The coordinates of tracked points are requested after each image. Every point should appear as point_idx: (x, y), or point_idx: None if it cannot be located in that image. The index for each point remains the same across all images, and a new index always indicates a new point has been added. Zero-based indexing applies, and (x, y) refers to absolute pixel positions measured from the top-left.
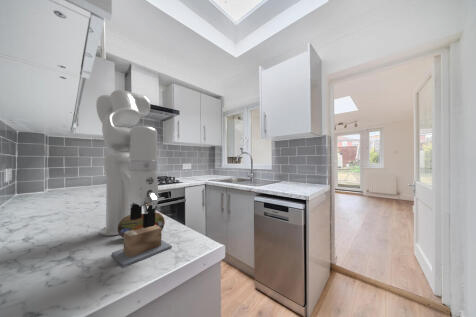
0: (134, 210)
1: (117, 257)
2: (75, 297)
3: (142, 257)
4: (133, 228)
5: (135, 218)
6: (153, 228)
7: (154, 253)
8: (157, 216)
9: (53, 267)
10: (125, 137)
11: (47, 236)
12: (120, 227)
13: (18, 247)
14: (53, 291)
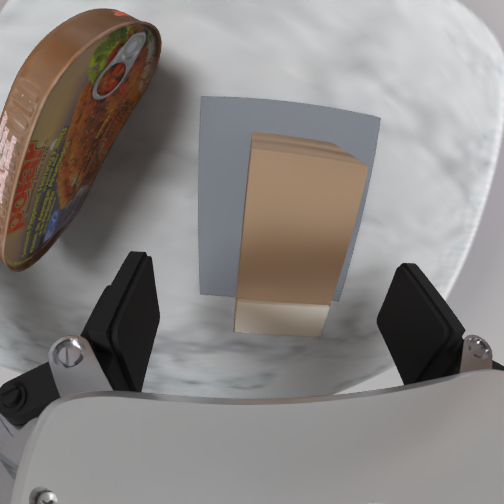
0: (141, 362)
1: None
2: (351, 369)
3: (353, 247)
4: (59, 194)
5: (154, 298)
6: (328, 206)
7: (363, 200)
8: (83, 60)
9: (163, 373)
10: None
11: None
12: (35, 250)
13: (11, 361)
14: (289, 385)
